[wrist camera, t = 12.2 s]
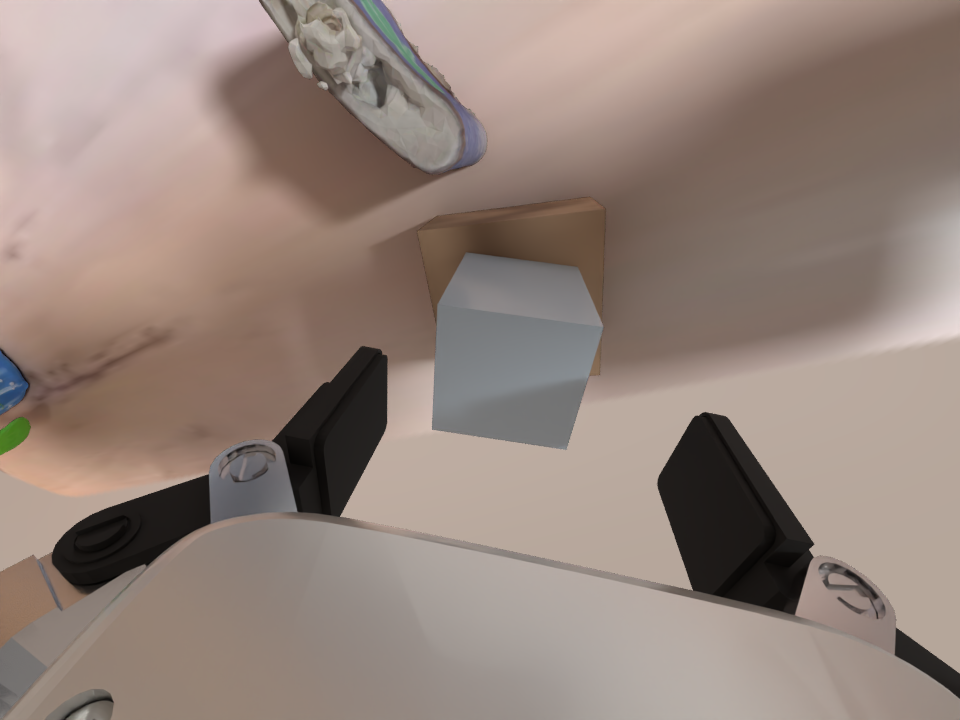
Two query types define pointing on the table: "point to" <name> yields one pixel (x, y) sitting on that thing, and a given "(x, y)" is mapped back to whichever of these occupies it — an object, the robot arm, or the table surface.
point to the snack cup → (11, 404)
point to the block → (520, 243)
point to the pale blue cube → (513, 350)
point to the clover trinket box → (380, 79)
